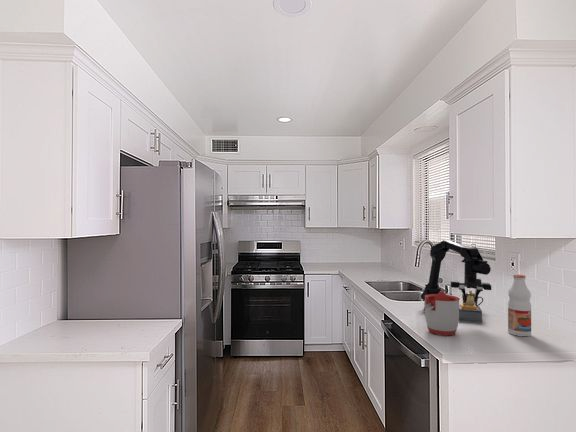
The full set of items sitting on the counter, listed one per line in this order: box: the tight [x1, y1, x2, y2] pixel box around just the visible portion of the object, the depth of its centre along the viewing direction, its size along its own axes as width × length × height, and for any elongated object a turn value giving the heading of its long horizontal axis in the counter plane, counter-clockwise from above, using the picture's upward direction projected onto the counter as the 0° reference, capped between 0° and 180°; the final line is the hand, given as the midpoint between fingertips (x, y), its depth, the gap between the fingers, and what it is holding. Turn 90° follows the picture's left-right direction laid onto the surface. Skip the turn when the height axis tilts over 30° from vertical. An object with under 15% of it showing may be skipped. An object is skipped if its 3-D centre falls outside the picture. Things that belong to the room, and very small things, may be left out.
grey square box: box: [459, 302, 483, 323], centre depth 203 cm, size 12×12×8 cm
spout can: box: [465, 290, 475, 306], centre depth 192 cm, size 4×4×8 cm
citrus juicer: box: [423, 290, 460, 337], centre depth 177 cm, size 16×17×20 cm
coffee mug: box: [461, 293, 484, 307], centre depth 219 cm, size 12×9×10 cm
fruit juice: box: [507, 274, 532, 337], centre depth 176 cm, size 9×9×28 cm
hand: (470, 301), depth 192 cm, fingers closed on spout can, 4 cm apart
